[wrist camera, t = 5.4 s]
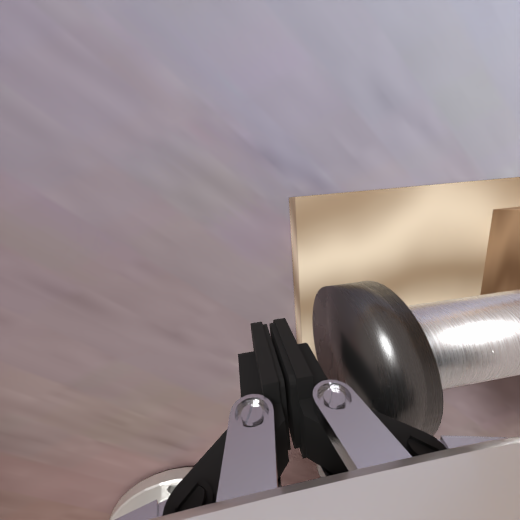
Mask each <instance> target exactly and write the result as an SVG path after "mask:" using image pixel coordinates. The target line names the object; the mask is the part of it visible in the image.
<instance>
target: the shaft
mask: <svg viewBox="0 0 520 520" xmlns="http://www.w3.org/2000/svg"><path fill="white" fill-rule="evenodd" d="M312 324H313V336H314V344H315V350H316V355H317V360H318V363H319V365H320V366H321V368H322V370H323V372H324V373H325V375H326V377H327V379H328V380H337V381H341V382H343V383H345V384H347V385H348V386H349V387H351V388H352V389H353V390H354V391H355V393H356V394H357V395H358V396H359V397H360V398H361V399H362V400H363V402H364V403H365V404H366V405H367V406H368V407H369V408H370V409H372V410H375V411H377V412H379V413H382V414H384V415H386V416H389V417H391V418H393V419H396V420H398V421H400V422H403V423H405V424H407V425H410V426H412V427H414V428H417V429H419V430H422V431H424V432H426V433H428V434H430V435H432V436H433V435H434V434H435V433H436V431H437V430H438V428H439V425H440V423H441V419H442V414H443V391H442V390H443V389H449V388H454V387H459V386H464V385H469V384H475V383H480V382H485V381H490V380H496V379H501V378H506V377H511V376H516V375H520V289H518V290H511V291H504V292H498V293H491V294H484V295H477V296H470V297H464V298H457V299H450V300H443V301H436V302H430V303H423V304H416V305H409V306H407V305H406V304H405V303H404V301H403V300H402V299H401V298H400V297H399V296H398V295H397V294H396V293H394V292H393V291H392V290H391V289H389V288H388V287H386V286H385V285H383V284H381V283H378V282H375V281H361V282H354V283H346V284H339V285H331V286H325V287H322V288H321V289H319V291H318V292H317V294H316V296H315V300H314V304H313V315H312Z"/></svg>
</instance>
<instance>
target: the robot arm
mask: <svg viewBox="0 0 520 520" xmlns="http://www.w3.org/2000/svg"><path fill="white" fill-rule="evenodd" d="M251 331H252V340H253V348H254V352H248V353H242V354H238V359H239V373H240V388H241V398H240V399H239V400H237V401H236V402H235V404H234V405H233V406H232V409H231V412H230V417H229V423H228V429H227V430H226V431H225V432H224V433H223V434H222V436H221V437H220V438H219V439H218V440H217V441H216V442H215V443H214V445H213V446H212V447H211V448H210V449H209V450H208V451H207V452H206V453H205V455H204V456H203V457H202V458H201V459H200V460H199V461H198V462H197V464H196V465H195V466H194V467H183V468H177V469H171V470H167V471H164V472H161V473H158V474H155V475H153V476H151V477H149V478H147V479H145V480H143V481H141V482H140V483H138V484H137V485H135V486H134V487H132V488H131V489H130V490H129V491H128V492H127V493H126V494H125V495H124V496H123V497H122V498H121V499H120V500H119V502H118V503H117V505H116V506H115V508H114V509H113V512H112V514H111V517H110V519H109V520H520V437H512V438H505V437H472V436H441V440H437V439H436V438H435V437H433V436H432V435H430V434H428V433H426V432H424V431H422V430H419V429H417V428H414V427H412V426H410V425H407V424H405V423H403V422H400V421H398V420H396V419H393V418H391V417H389V416H386V415H384V414H382V413H379V412H377V411H375V410H372V409H370V408H369V407H368V406H367V405H366V404H365V403H364V402H363V400H362V399H361V398H360V397H359V396H358V395H357V394H356V393H355V391H354V390H353V389H352V388H351V387H349V386H348V385H347V384H345V383H343V382H341V381H337V380H328V379H327V377H326V375H325V373H324V372H323V370H322V368H321V366H320V365H319V363H318V361H317V359H316V357H315V356H314V354H313V352H312V350H311V349H310V347H309V345H308V344H307V343H301V344H297V342H296V340H295V338H294V336H293V334H292V332H291V330H290V328H289V326H288V323H287V321H286V319H285V318H282V319H276V320H273V323H270V333H271V336H270V333H269V330H268V327H267V324H264V325H263V324H262V322H257V323H251ZM289 430H290V434H291V437H292V441H293V445H294V448H300V451H301V454H302V457H303V458H309V459H310V460H312V461H313V462H315V463H317V469H318V472H319V475H320V477H321V478H318V479H313V480H309V481H305V482H300V483H296V484H292V485H287V486H283V487H282V485H281V474H282V472H283V470H284V469H285V467H286V465H287V464H288V462H289V458H288V450H290V449H291V448H290V436H289Z"/></svg>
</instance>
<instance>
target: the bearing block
mask: <svg viewBox="0 0 520 520" xmlns="http://www.w3.org/2000/svg"><path fill="white" fill-rule="evenodd" d="M289 207H290V225H291V243H292V262H293V280H294V298H295V317H296V335H297V344H301V343H307V344H308V345H309V347H310V349H311V350H312V352H313V354H314V356H315V357H316V359H317V355H316V350H315V344H314V336H313V324H312V315H313V304H314V300H315V296H316V294H317V292H318V291H319V289H321V288H322V287H325V286H331V285H339V284H346V283H354V282H361V281H375V282H378V283H381V284H383V285H385V286H386V287H388V288H389V289H391V290H392V291H393V292H394V293H396V294H397V295H398V296H399V297H400V298H401V299H402V300H403V301H404V303H405V304H406V305H407V306H409V305H416V304H423V303H430V302H436V301H443V300H450V299H457V298H464V297H470V296H477V295H484V294H491V293H498V292H504V291H511V290H518V289H520V177H515V178H503V179H492V180H481V181H470V182H458V183H447V184H436V185H425V186H414V187H402V188H391V189H380V190H369V191H357V192H346V193H335V194H324V195H312V196H301V197H290V198H289ZM317 361H318V360H317Z"/></svg>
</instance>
